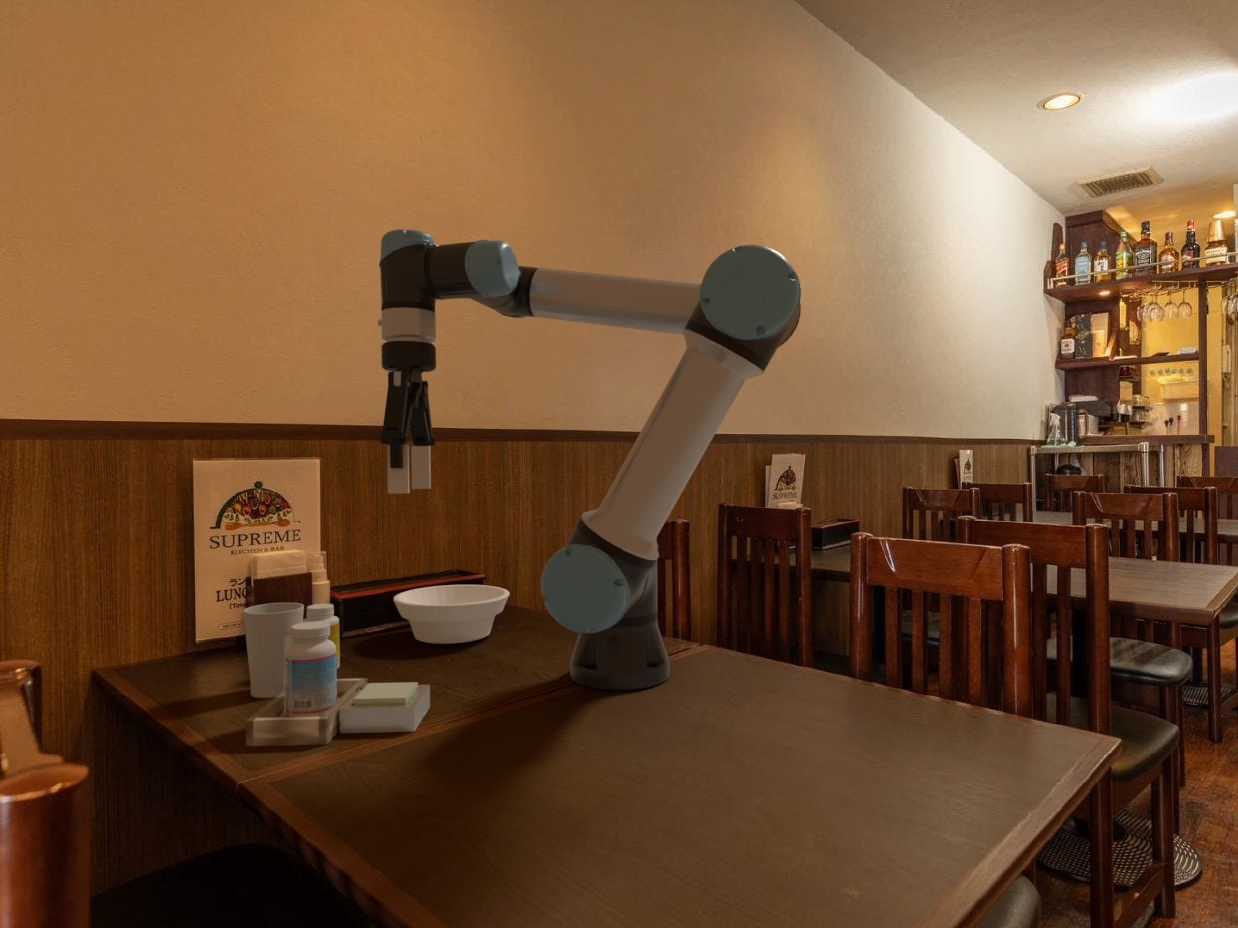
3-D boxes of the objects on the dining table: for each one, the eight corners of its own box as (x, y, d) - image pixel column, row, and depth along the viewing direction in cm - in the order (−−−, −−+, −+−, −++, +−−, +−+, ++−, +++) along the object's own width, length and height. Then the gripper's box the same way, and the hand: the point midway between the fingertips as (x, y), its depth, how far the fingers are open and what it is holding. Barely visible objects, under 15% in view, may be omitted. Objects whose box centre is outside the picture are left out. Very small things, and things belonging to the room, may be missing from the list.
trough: (367, 699, 103) (367, 678, 103) (326, 744, 87) (326, 718, 87) (299, 701, 103) (298, 679, 103) (245, 746, 87) (245, 720, 87)
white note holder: (430, 706, 100) (430, 681, 100) (414, 731, 91) (414, 704, 91) (361, 707, 100) (360, 683, 100) (338, 733, 91) (337, 706, 91)
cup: (281, 701, 103) (280, 614, 103) (231, 697, 105) (230, 612, 105) (316, 683, 111) (315, 603, 111) (268, 681, 113) (267, 601, 112)
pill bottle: (347, 709, 97) (346, 622, 97) (309, 724, 91) (308, 632, 91) (313, 702, 99) (312, 618, 99) (274, 716, 94) (274, 627, 94)
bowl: (531, 630, 144) (530, 588, 144) (465, 658, 125) (465, 609, 125) (442, 621, 153) (441, 581, 152) (368, 646, 133) (367, 600, 133)
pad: (417, 691, 99) (417, 682, 99) (405, 707, 93) (405, 697, 92) (369, 692, 99) (368, 683, 99) (353, 708, 92) (353, 698, 92)
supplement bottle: (347, 667, 119) (346, 603, 119) (320, 677, 114) (319, 610, 114) (321, 664, 122) (320, 601, 122) (294, 673, 117) (293, 607, 116)
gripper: (403, 354, 119) (405, 487, 120) (355, 328, 94) (357, 495, 95) (451, 354, 120) (452, 486, 120) (415, 327, 95) (417, 495, 95)
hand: (410, 491), depth 107 cm, fingers open, 13 cm apart
